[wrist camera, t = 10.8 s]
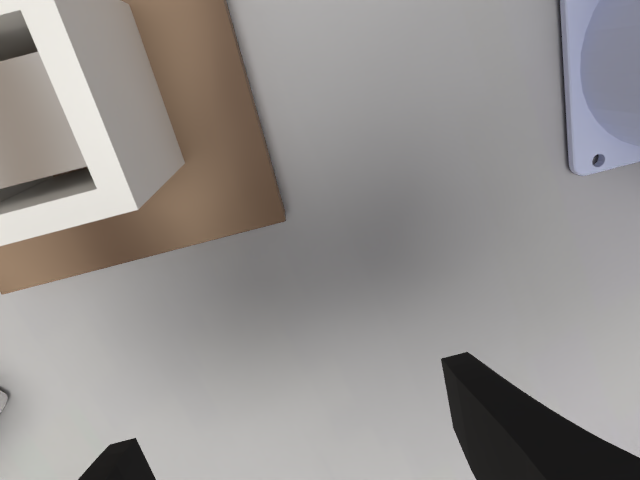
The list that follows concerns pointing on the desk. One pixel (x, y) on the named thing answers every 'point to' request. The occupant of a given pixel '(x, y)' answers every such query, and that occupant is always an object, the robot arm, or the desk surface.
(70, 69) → the sleeve
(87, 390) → the desk surface
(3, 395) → the medicine bottle
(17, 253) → the duct base
